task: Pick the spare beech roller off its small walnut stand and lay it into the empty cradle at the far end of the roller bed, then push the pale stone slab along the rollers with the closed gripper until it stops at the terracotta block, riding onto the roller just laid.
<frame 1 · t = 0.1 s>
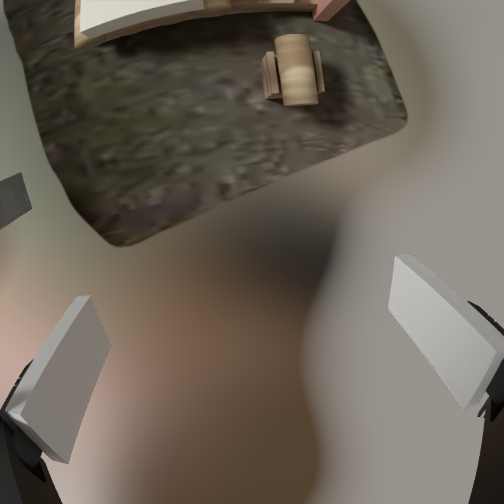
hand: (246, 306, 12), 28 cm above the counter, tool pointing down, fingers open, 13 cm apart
roller bed: (196, 3, 27), on the counter
pedestal: (285, 79, 32), on the counter
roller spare: (292, 73, 29), point 4 cm above the counter, touching pedestal
skincare box: (13, 200, 34), on the counter
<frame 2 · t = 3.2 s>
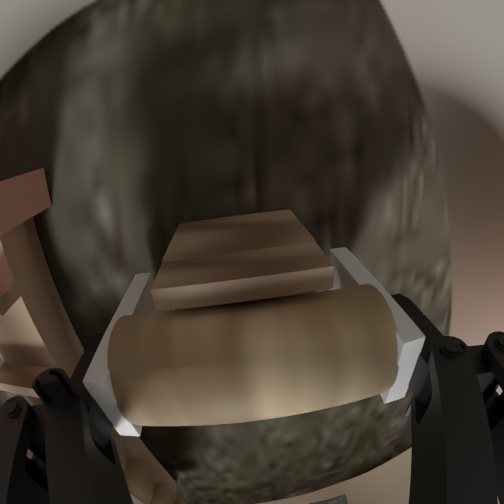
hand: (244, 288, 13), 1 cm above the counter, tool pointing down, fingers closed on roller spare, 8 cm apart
roller bed: (92, 407, 18), on the counter
pedestal: (242, 275, 14), on the counter
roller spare: (248, 326, 10), point 4 cm above the counter, touching gripper, pedestal
skincare box: (326, 502, 32), on the counter
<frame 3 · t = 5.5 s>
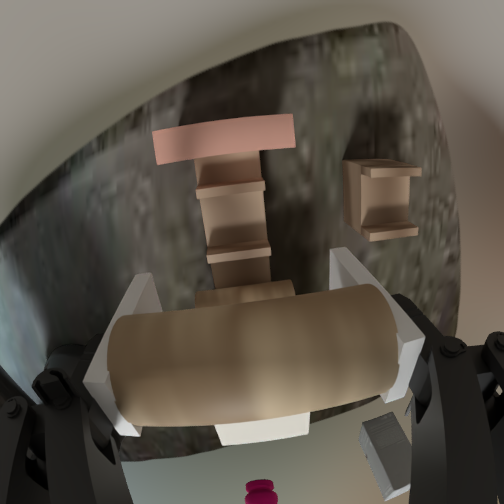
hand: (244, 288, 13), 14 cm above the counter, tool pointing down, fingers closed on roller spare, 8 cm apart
roller bed: (245, 297, 30), on the counter
pepper mill: (259, 482, 51), on the counter
slab: (256, 383, 26), point 7 cm above the counter, touching roller bed
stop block: (224, 136, 24), on the counter
pedestal: (366, 189, 27), on the counter
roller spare: (248, 326, 10), point 17 cm above the counter, touching gripper
skincare box: (376, 425, 45), on the counter
when the fingers open (1 cm above the counter, at t = 8.2 s): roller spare drops 1 cm, resting on roller bed.
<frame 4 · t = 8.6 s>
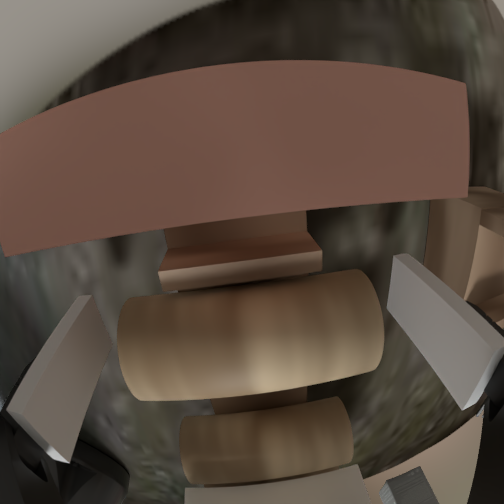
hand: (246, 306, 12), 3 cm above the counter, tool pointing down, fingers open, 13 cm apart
roller bed: (259, 397, 18), on the counter
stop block: (224, 136, 12), on the counter
pedestal: (455, 235, 15), on the counter
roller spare: (246, 309, 11), point 3 cm above the counter, touching roller bed
skincare box: (399, 478, 32), on the counter
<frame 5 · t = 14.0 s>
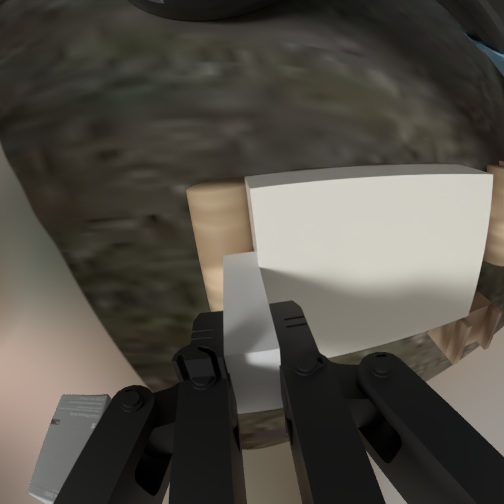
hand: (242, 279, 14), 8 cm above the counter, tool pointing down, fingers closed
roller bed: (391, 206, 22), on the counter
slab: (371, 247, 15), point 7 cm above the counter, touching gripper, roller bed
pedestal: (450, 310, 27), on the counter
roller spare: (487, 207, 19), point 3 cm above the counter, touching roller bed
skincare box: (97, 409, 29), on the counter
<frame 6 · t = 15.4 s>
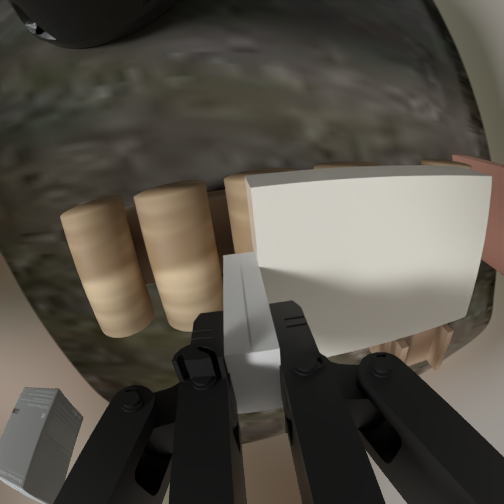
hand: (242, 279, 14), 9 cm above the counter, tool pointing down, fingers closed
roller bed: (299, 212, 22), on the counter
slab: (370, 247, 15), point 7 cm above the counter, touching gripper
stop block: (457, 196, 22), on the counter
pedestal: (396, 324, 27), on the counter
skincare box: (54, 402, 29), on the counter
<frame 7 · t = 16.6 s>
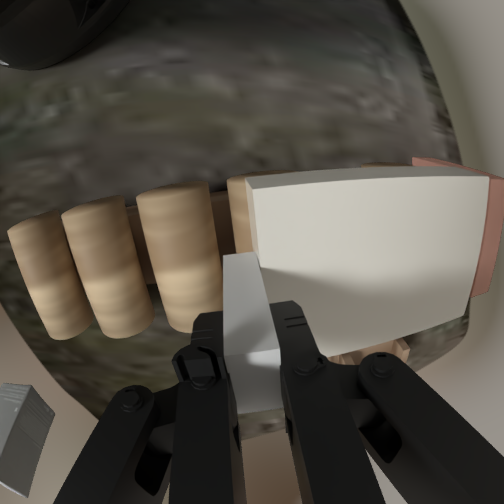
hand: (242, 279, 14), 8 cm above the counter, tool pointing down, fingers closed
roller bed: (233, 223, 21), on the counter
slab: (369, 247, 15), point 7 cm above the counter, touching gripper, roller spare
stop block: (420, 203, 22), on the counter
pedestal: (353, 337, 27), on the counter
skincare box: (29, 398, 29), on the counter
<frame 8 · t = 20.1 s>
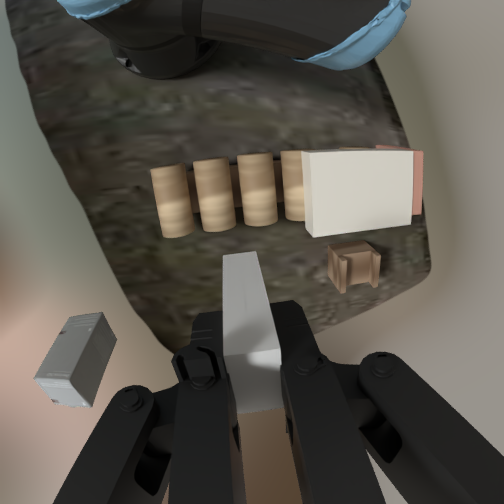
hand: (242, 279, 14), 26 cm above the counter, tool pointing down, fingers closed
roller bed: (276, 178, 38), on the counter
slab: (355, 186, 32), point 7 cm above the counter, touching roller bed, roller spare
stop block: (382, 171, 39), on the counter
pedestal: (346, 257, 44), on the counter
skincare box: (93, 328, 45), on the counter
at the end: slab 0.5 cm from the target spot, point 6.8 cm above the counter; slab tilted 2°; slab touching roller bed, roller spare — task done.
